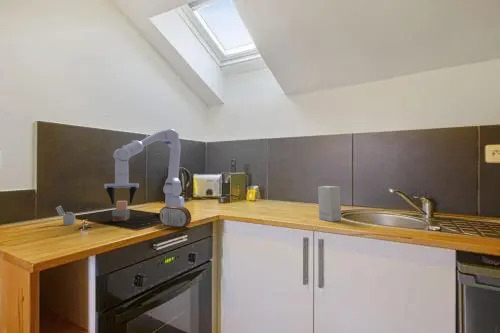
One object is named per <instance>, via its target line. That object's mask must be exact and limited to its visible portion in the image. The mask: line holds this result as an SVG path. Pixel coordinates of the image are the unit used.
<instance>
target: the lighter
mask: <svg viewBox="0 0 500 333" xmlns="http://www.w3.org/2000/svg"><path fill="white" fill-rule="evenodd" d="M55 210H56V211H57V215H59V217H62V220H63V222H62V223H63V226H69V225H70V226H75V225H76V214H75V213H73V212H72V211H66V212H65V211H64V210H63V208H62V205H59V206H56V207H55Z"/></svg>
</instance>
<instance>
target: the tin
mask: <svg viewBox="0 0 500 333" xmlns="http://www.w3.org/2000/svg"><path fill="white" fill-rule="evenodd" d="M159 220H160V222H161V224H163V225H164V226H166V227H172V228H179V229H180V228H185V227H188V226H189V225H190V224H191V221H192V214H191V212H190V210H189V209H188V208H187V207H185V206H184V207H179V206H166V207H165V206H164V207H162V208H161V209H160V210H159Z"/></svg>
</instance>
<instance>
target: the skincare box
mask: <svg viewBox="0 0 500 333" xmlns="http://www.w3.org/2000/svg"><path fill="white" fill-rule="evenodd" d="M317 190H318V191H317V195H318V197H317V198H318V220H321V219H322V221H327V222H331V223H334V222H338V221H340V222H341V221H342V209H341V208H342V206H341V186H337V185H336V186H333V185H324V186H317Z"/></svg>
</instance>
